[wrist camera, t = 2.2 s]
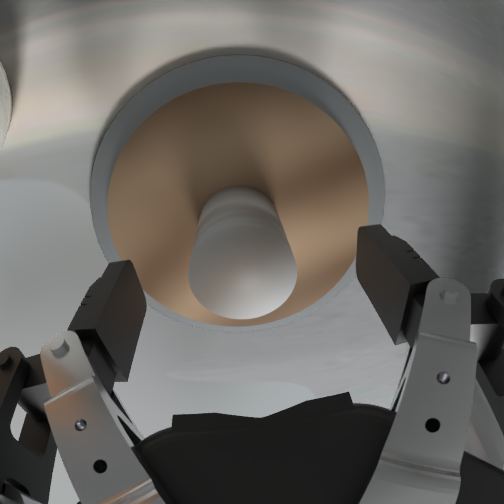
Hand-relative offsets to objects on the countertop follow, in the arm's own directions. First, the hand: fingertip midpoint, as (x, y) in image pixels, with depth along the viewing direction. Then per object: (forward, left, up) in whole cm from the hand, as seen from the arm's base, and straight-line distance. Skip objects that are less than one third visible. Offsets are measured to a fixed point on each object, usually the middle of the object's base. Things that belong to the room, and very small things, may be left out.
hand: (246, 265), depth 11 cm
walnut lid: (-1, +1, -6) cm, 6 cm away
